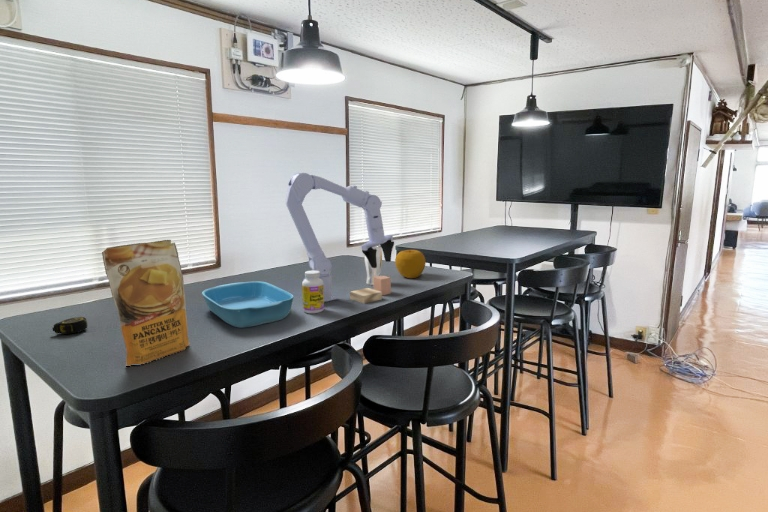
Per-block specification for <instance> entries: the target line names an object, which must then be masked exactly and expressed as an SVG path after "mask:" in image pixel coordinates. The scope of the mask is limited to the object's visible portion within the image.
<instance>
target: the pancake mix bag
mask: <svg viewBox="0 0 768 512" xmlns="http://www.w3.org/2000/svg"><path fill="white" fill-rule="evenodd" d="M101 255H102V260H103V265H104V270H105V274H106V276H107V280H108V283H109V288H110V292H111V295H112V297H111V298H112V299H113V303H114V306H115V308H116V312H117V314H118V317H119V318H118V319H119V325H120V331H121V332H120V333H121V335H122V338H123V340H124V345H125V349H126V351H125V352H126V353H125V356H126V357H125V364H124V365H125V366H124V367H125V368H127V367H126V366H129V365H132V364H143V363H147V362H150V361H153V360H156V359H159V358H162V357H165V356H167V357H169V356H168V355H170V356H172V355H171V354H173V355H175V354H174V353H176V354H178V353H177V352H179V353H181V352H183V351H185V349H186V348H187V347H188V346H190V345H191V344H190V341H189V338H188V318H187V309H186V308H187V307H186V303H187V302H186V291H185V284H184V283H185V282H184V276H183V270H182V266H181V262H180V258H179V251H178V249H177V245H176V242H172V239H162V240H156V241H151V242H150V241H149V242H139V243H138V242H137V243H130V244H129V243H128V244H124V245H123V244H122V245H117V246H112V247H111V246H110V247H107V248H106V249H104V250H103V251H102V252H101ZM186 350H187V349H186ZM180 351H181V352H180ZM165 358H166V357H165ZM162 359H163V358H162ZM159 360H160V359H159ZM156 361H157V360H156ZM153 362H154V361H153ZM150 363H151V362H150ZM147 364H148V363H147Z"/></svg>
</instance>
